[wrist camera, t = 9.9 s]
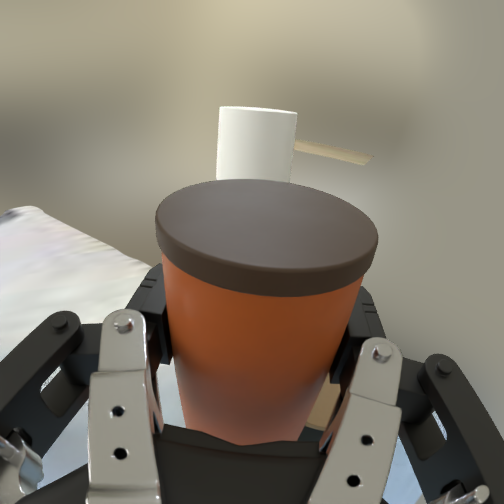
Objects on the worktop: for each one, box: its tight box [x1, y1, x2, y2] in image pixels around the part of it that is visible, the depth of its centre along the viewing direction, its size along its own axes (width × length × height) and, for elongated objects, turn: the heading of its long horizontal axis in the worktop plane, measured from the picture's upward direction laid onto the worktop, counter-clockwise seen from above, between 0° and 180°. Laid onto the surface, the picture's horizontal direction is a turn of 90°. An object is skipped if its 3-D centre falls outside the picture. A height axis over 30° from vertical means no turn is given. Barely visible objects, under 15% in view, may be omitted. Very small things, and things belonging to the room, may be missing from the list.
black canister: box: [297, 373, 341, 442], centre depth 24 cm, size 9×9×7 cm
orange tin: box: [155, 179, 378, 445], centre depth 10 cm, size 5×5×10 cm
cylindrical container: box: [216, 106, 297, 183], centre depth 32 cm, size 7×7×25 cm
